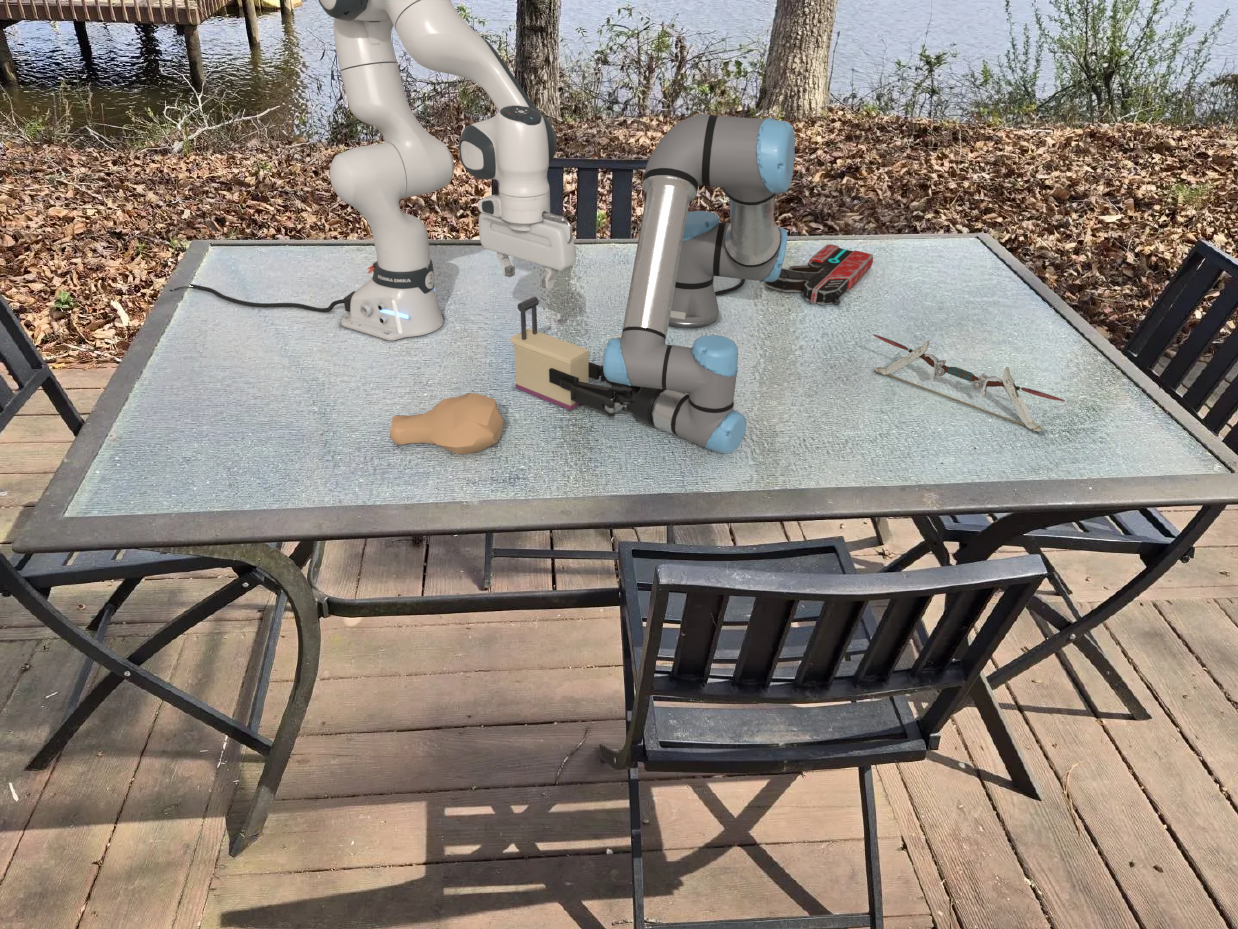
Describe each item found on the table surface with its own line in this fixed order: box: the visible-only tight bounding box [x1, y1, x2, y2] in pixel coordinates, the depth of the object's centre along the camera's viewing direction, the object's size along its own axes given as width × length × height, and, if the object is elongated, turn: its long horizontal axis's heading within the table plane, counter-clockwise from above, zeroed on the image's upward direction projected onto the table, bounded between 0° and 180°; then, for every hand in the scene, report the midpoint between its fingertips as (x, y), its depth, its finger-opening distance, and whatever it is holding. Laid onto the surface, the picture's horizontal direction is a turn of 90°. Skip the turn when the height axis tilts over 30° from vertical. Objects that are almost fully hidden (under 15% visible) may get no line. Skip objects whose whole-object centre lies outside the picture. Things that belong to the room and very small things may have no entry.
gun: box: [764, 243, 874, 306], centre depth 221 cm, size 4×31×19 cm
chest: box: [513, 344, 590, 411], centre depth 168 cm, size 14×6×10 cm, turn 53°
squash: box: [389, 392, 505, 455], centre depth 152 cm, size 11×20×9 cm, turn 90°
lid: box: [509, 296, 590, 365], centre depth 163 cm, size 15×6×8 cm, turn 53°
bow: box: [872, 333, 1066, 432], centre depth 170 cm, size 39×2×10 cm, turn 47°
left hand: (528, 281), depth 161 cm, fingers open, 8 cm apart
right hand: (561, 368), depth 166 cm, fingers closed on chest, 5 cm apart
